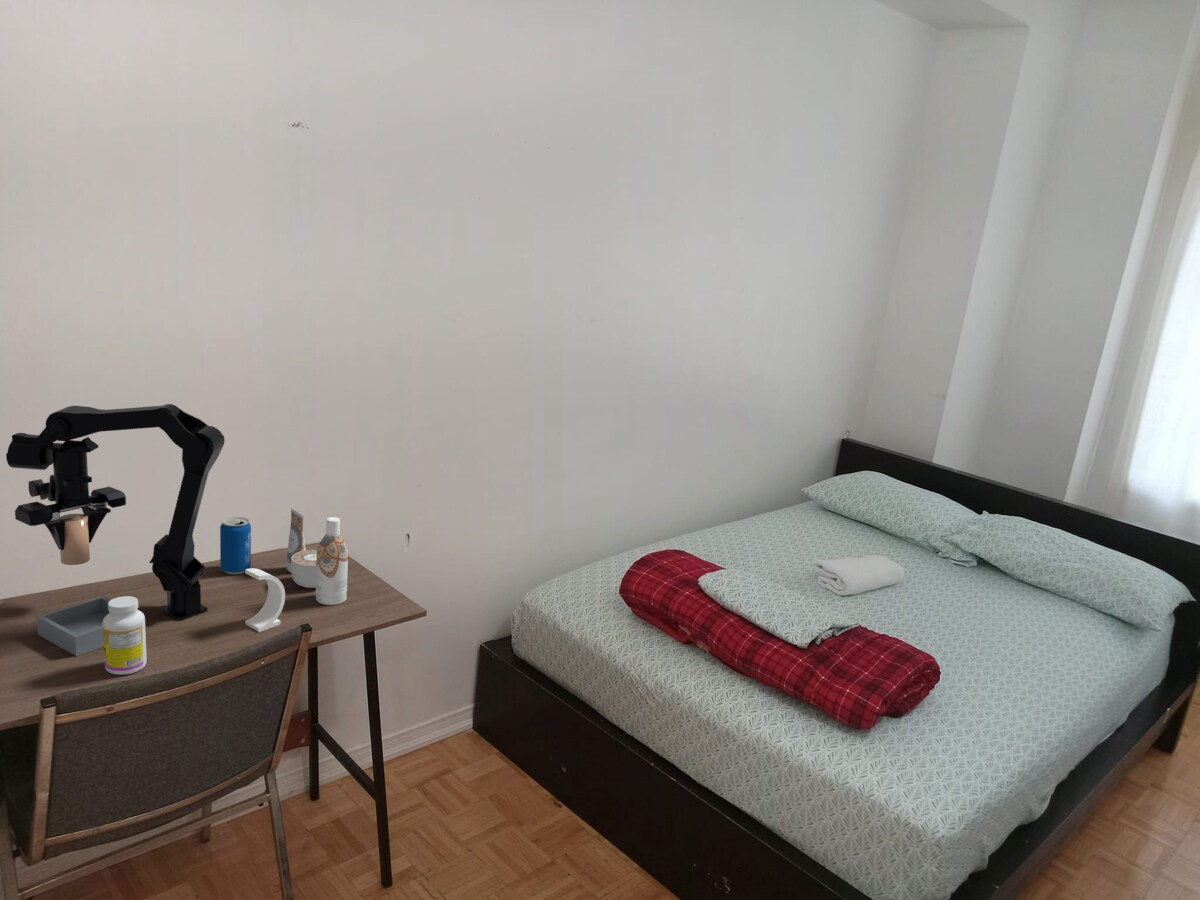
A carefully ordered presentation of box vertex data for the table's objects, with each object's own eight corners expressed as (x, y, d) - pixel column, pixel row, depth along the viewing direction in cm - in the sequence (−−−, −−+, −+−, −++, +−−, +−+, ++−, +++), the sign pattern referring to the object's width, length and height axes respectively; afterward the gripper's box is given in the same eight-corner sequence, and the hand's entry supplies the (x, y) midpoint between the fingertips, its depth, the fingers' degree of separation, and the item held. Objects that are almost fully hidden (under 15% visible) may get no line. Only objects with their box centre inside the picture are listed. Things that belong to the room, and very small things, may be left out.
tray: (142, 632, 170) (141, 614, 169) (76, 656, 159) (75, 637, 158) (103, 613, 176) (102, 595, 175) (38, 634, 165) (36, 616, 164)
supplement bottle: (114, 657, 160) (112, 592, 157) (152, 658, 161) (150, 594, 158) (97, 675, 154) (94, 608, 151) (137, 677, 155) (134, 610, 152)
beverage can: (240, 577, 198) (240, 527, 195) (214, 572, 199) (213, 523, 196) (256, 567, 204) (256, 519, 201) (231, 563, 205) (231, 514, 202)
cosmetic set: (271, 569, 205) (271, 492, 200) (309, 561, 211) (310, 487, 206) (317, 609, 187) (319, 527, 182) (357, 600, 193) (360, 520, 188)
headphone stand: (245, 624, 177) (245, 569, 174) (271, 615, 182) (271, 561, 179) (258, 632, 175) (258, 576, 172) (285, 622, 180) (285, 568, 177)
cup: (95, 560, 176) (93, 518, 174) (69, 567, 172) (67, 523, 170) (80, 553, 179) (78, 511, 177) (55, 560, 175) (53, 517, 172)
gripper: (94, 454, 183) (97, 524, 186) (-4, 471, 167) (2, 547, 171) (126, 466, 177) (129, 538, 181) (28, 484, 161) (34, 563, 165)
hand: (74, 546), depth 175 cm, fingers closed on cup, 5 cm apart
